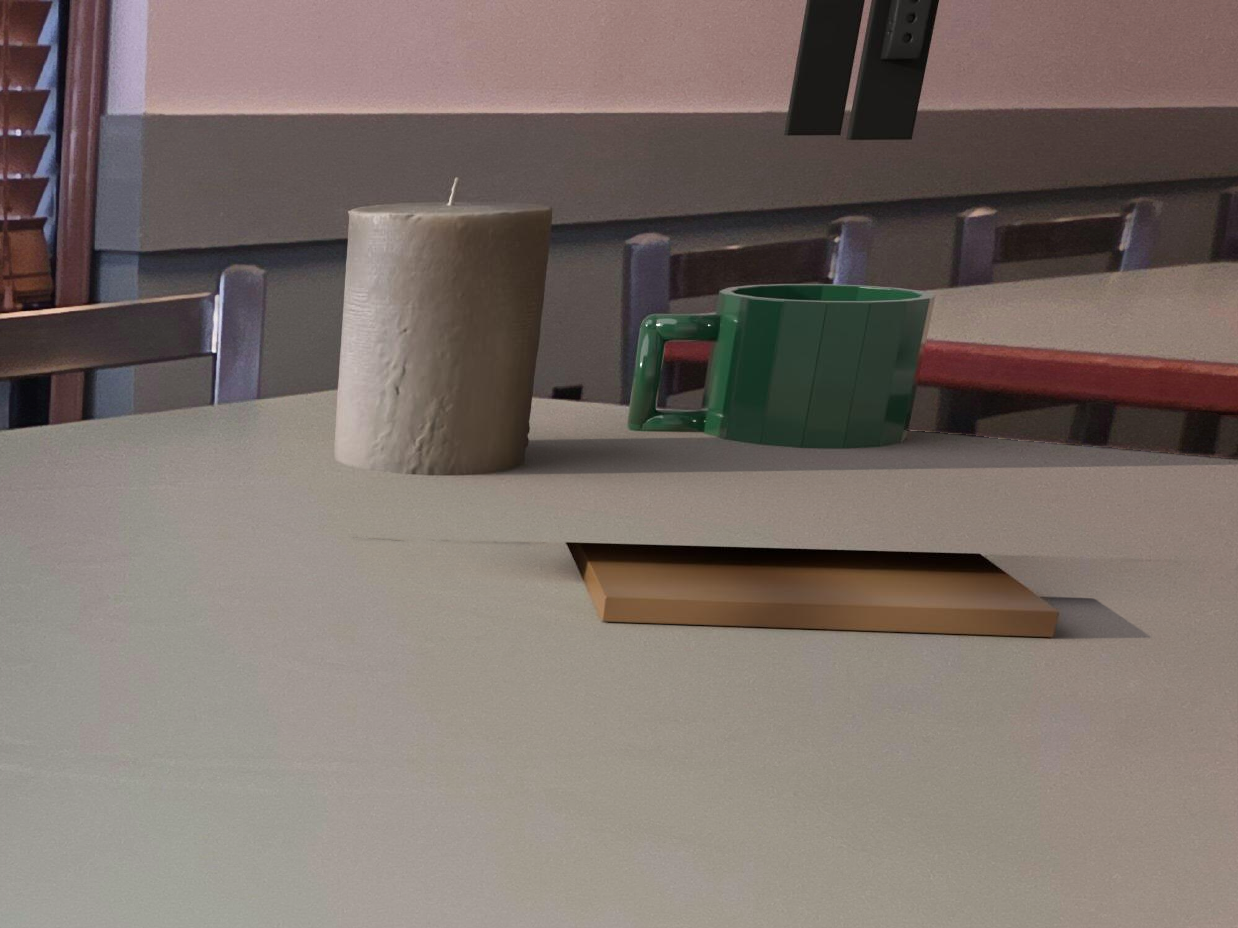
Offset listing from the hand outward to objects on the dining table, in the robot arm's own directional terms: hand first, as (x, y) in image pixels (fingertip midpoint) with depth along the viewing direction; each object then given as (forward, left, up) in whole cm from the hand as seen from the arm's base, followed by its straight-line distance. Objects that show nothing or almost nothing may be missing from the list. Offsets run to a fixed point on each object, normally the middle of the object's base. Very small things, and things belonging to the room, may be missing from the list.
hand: (842, 138), depth 88 cm
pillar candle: (+19, +10, -17) cm, 27 cm away
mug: (+2, 0, -16) cm, 16 cm away
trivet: (+6, +26, -16) cm, 31 cm away
